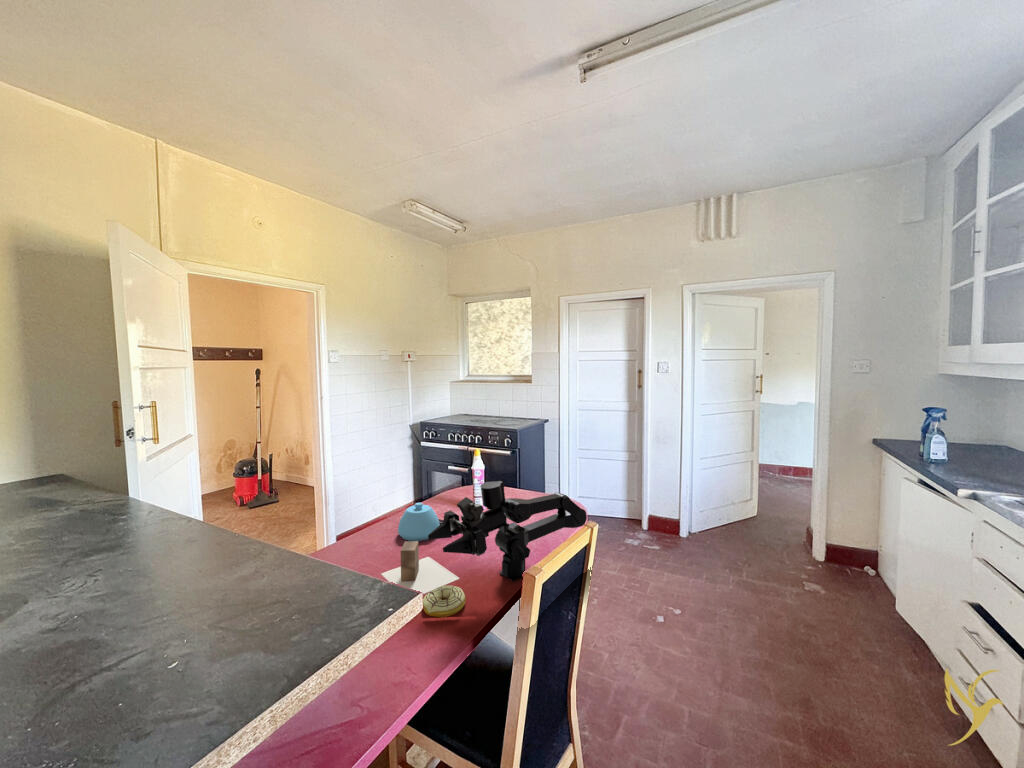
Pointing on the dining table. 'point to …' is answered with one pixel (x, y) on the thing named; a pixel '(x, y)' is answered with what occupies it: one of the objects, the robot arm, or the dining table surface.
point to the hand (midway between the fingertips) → (435, 543)
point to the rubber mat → (423, 576)
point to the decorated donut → (444, 601)
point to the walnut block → (409, 561)
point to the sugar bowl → (418, 522)
